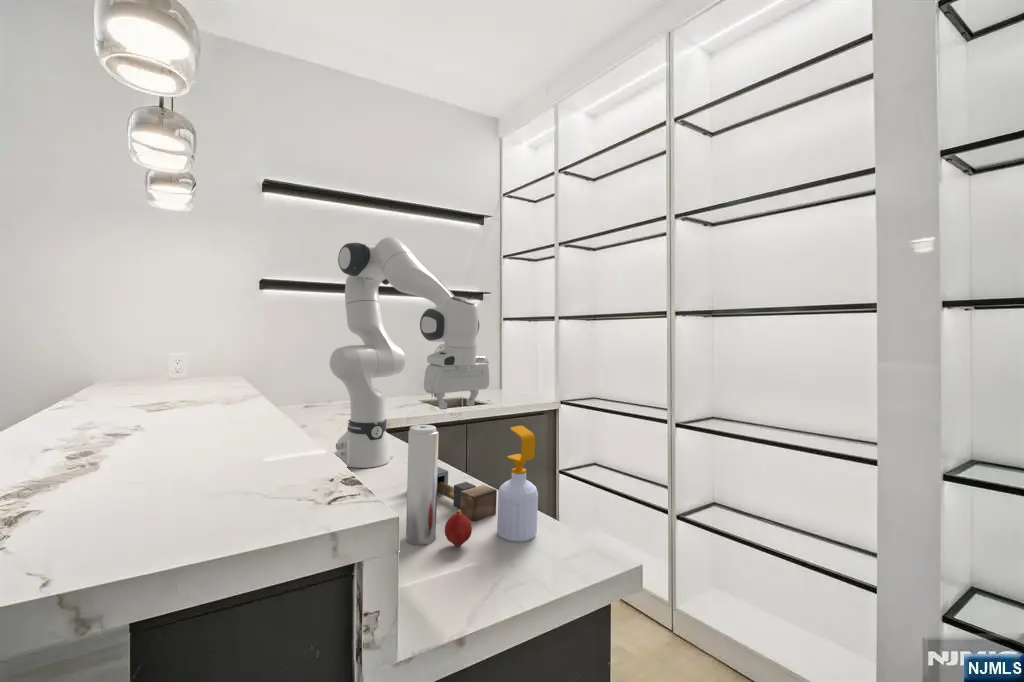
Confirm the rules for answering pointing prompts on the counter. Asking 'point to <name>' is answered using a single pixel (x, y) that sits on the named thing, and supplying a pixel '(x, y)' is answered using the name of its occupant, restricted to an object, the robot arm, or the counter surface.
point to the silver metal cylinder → (422, 484)
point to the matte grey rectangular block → (442, 477)
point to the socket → (478, 502)
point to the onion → (458, 529)
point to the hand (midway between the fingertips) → (456, 407)
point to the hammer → (454, 491)
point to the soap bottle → (518, 495)
